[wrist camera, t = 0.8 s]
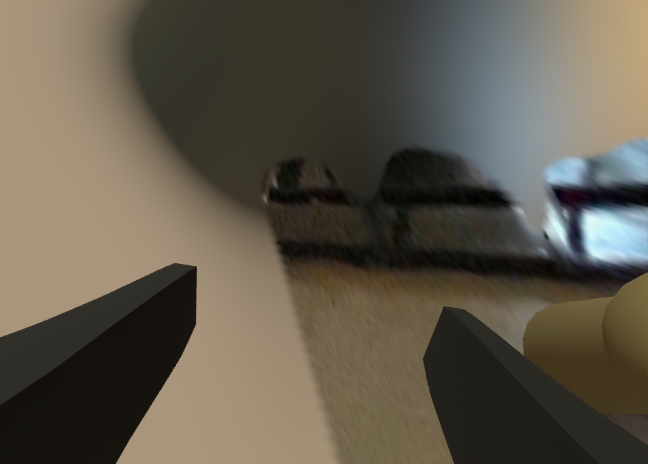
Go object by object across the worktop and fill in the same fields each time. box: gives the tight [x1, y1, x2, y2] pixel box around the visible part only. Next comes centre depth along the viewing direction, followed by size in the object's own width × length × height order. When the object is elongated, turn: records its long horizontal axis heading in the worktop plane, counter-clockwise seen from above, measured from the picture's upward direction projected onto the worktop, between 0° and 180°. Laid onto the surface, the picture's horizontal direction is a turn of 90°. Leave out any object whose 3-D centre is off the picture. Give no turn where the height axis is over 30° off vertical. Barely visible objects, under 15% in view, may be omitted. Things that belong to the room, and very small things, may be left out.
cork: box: [523, 273, 648, 415], centre depth 13 cm, size 6×6×11 cm
